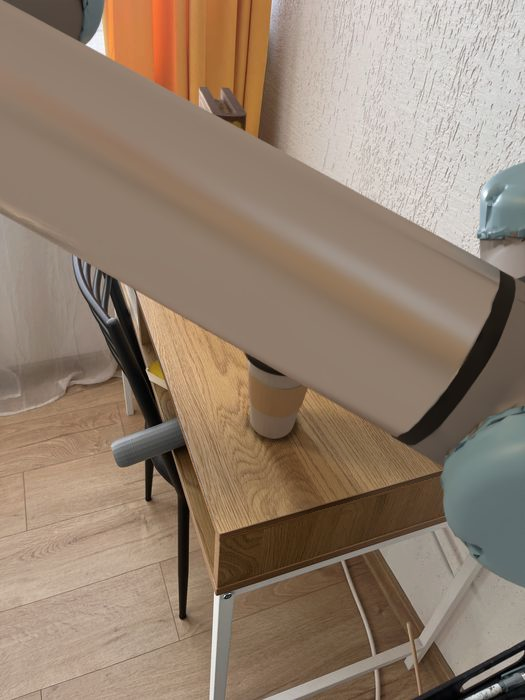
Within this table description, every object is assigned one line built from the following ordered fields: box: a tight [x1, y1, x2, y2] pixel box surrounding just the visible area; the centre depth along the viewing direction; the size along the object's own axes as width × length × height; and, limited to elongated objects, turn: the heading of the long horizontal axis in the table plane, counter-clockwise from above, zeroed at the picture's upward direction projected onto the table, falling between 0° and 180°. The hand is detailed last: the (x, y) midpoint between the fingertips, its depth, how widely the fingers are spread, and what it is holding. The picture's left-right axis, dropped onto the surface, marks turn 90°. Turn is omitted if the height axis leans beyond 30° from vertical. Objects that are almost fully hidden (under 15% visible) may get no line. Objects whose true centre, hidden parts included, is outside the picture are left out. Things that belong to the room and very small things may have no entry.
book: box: [198, 86, 248, 132], centre depth 110 cm, size 22×8×25 cm, turn 13°
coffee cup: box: [243, 352, 309, 440], centre depth 67 cm, size 9×9×15 cm
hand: (262, 293), depth 60 cm, fingers closed
